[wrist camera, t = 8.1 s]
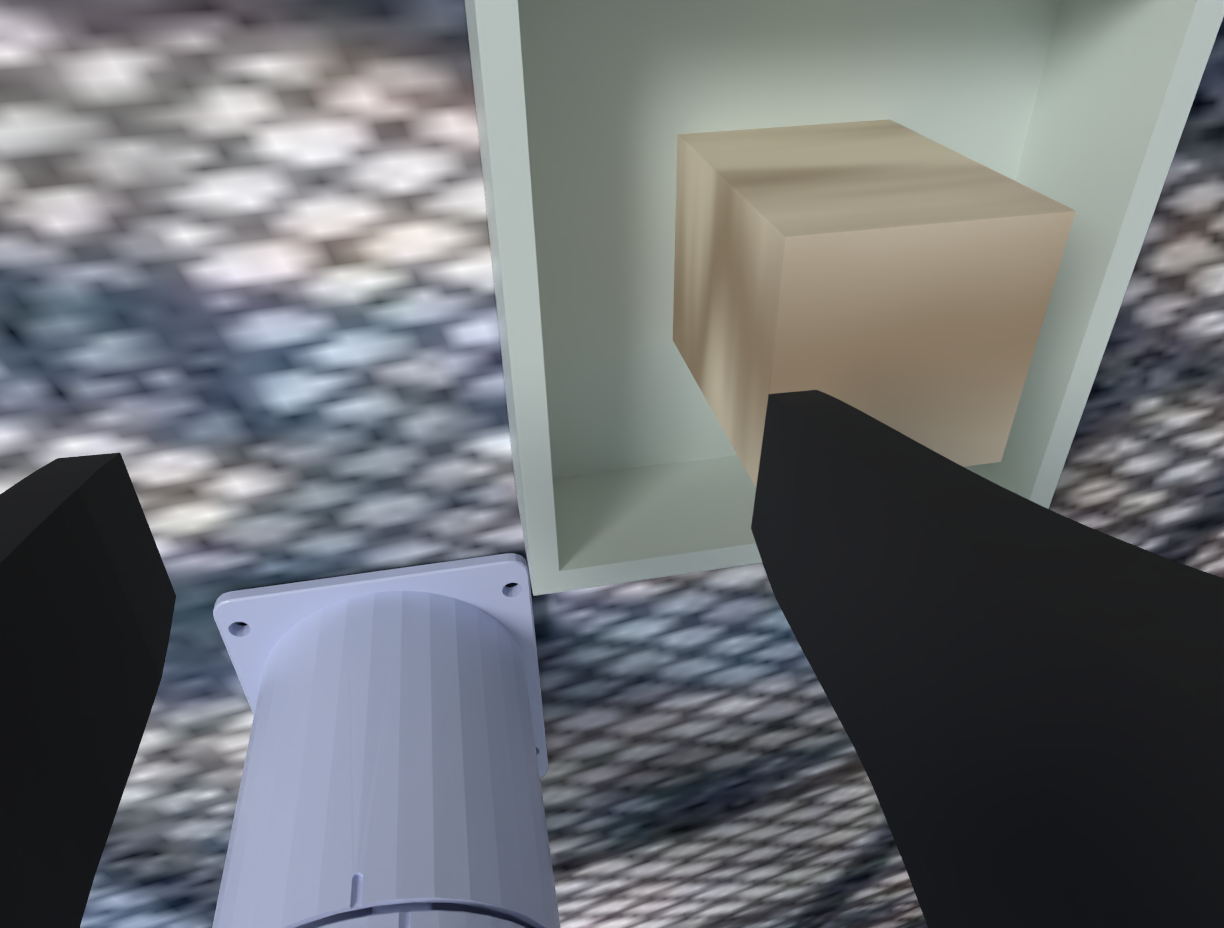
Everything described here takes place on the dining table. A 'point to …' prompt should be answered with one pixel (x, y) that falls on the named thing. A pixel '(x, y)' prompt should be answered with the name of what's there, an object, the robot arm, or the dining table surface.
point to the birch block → (860, 280)
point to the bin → (766, 98)
